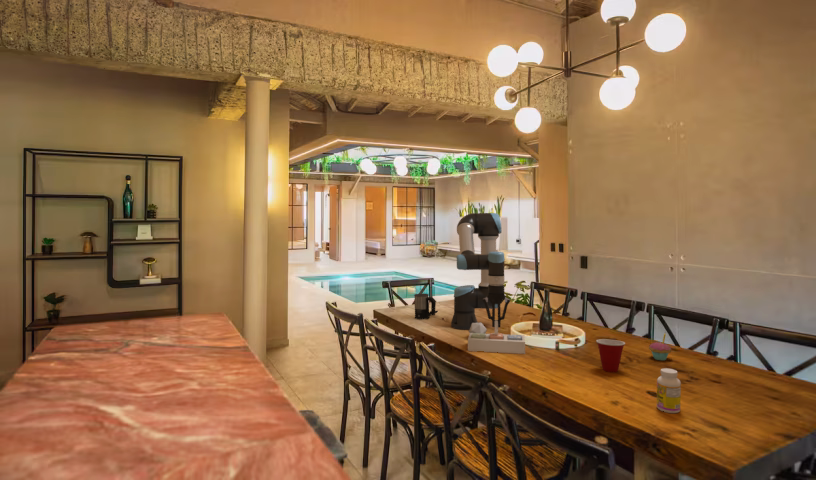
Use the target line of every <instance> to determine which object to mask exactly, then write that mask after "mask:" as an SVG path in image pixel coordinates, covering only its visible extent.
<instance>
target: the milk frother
mask: <svg viewBox="0 0 816 480" xmlns="http://www.w3.org/2000/svg"><path fill="white" fill-rule="evenodd" d="M413 296H414V319H415V320H428V319H429V318H430V317H431V316H435V315H436V314H437V313H438V312H439V310H436V307H437V306H436V303H437V302H436V300H435V298H433V297H432V296H430V294H429V293H414V294H413ZM430 303H431V308H430ZM430 309H431V310H430Z"/></svg>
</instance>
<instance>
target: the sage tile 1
mask: <svg viewBox="0 0 816 480" xmlns="http://www.w3.org/2000/svg"><path fill="white" fill-rule="evenodd" d="M485 334H486V333H485ZM485 334H484V333H472V338H480V339H485Z"/></svg>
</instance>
